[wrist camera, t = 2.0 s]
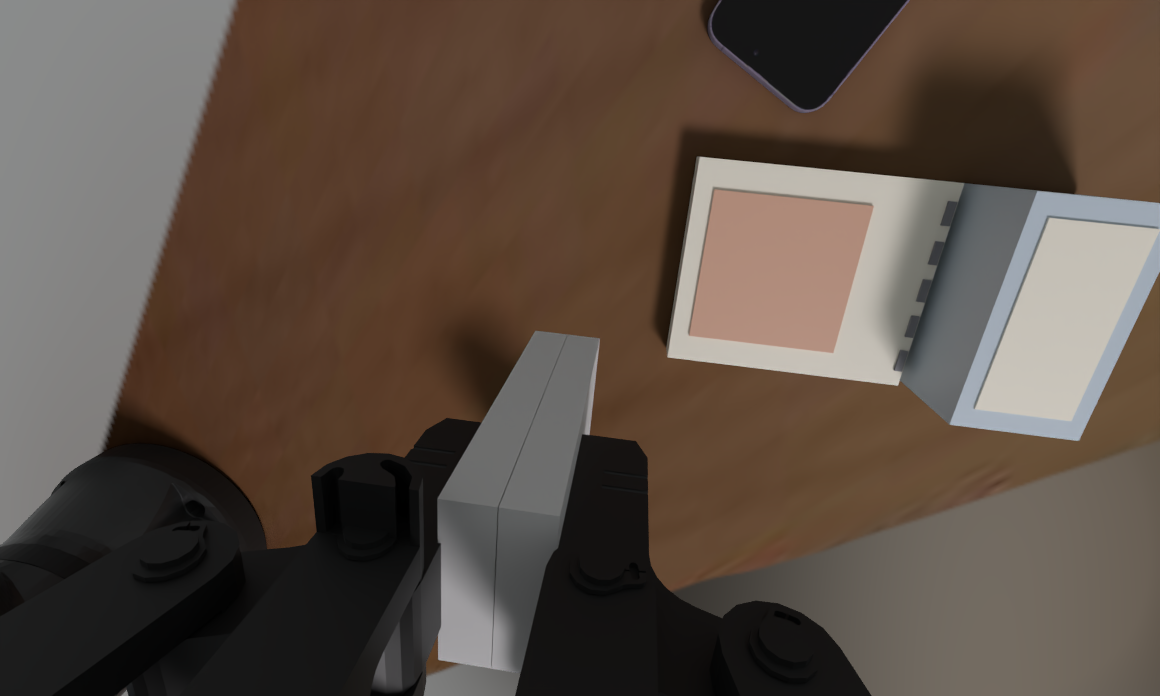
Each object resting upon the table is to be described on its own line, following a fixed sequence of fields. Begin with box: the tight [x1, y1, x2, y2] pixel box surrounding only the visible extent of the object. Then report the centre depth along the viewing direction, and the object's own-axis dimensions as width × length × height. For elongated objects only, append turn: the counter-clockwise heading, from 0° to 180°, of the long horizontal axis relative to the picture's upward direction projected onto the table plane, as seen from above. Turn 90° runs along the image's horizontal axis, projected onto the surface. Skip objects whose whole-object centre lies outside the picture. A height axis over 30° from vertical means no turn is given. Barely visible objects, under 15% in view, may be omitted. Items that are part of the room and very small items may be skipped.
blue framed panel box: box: [900, 183, 1160, 441], centre depth 27 cm, size 6×11×6 cm, turn 175°
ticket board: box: [666, 156, 964, 386], centre depth 30 cm, size 13×11×2 cm
